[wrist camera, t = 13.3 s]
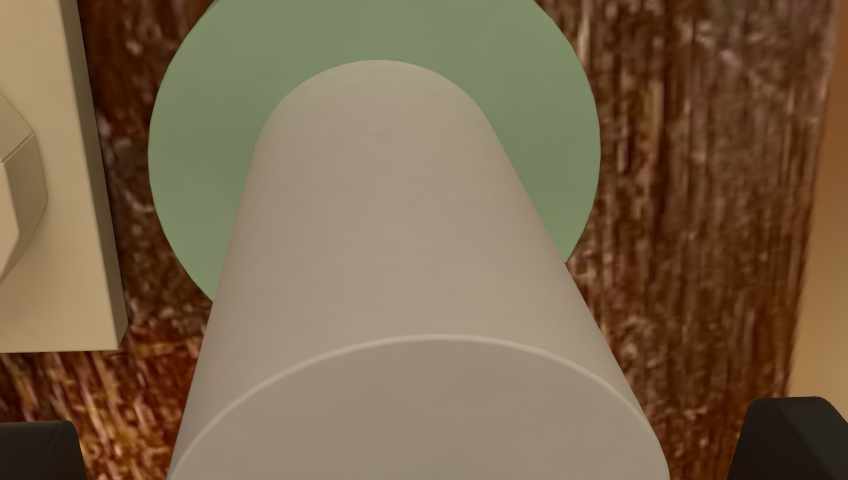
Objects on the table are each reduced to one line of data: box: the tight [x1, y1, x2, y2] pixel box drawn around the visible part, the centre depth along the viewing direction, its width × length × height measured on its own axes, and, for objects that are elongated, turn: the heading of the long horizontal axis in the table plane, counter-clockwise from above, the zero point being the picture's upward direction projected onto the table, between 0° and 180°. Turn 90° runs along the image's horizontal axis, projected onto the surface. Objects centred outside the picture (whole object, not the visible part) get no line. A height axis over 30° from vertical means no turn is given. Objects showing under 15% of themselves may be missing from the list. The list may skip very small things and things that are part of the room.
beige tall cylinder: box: [166, 60, 670, 480], centre depth 12 cm, size 6×6×11 cm
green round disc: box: [148, 0, 601, 301], centre depth 18 cm, size 10×10×2 cm
